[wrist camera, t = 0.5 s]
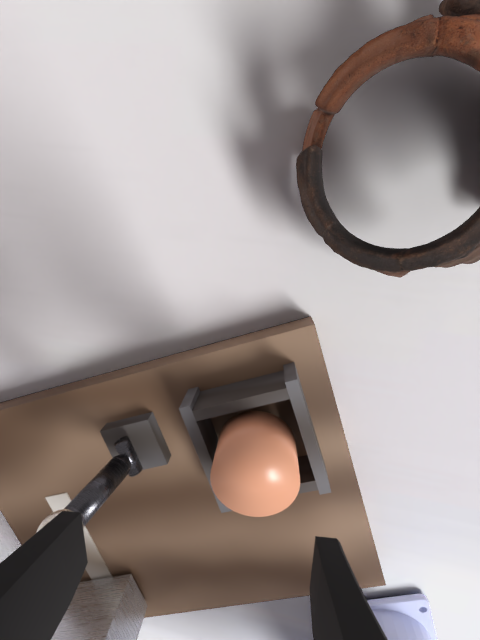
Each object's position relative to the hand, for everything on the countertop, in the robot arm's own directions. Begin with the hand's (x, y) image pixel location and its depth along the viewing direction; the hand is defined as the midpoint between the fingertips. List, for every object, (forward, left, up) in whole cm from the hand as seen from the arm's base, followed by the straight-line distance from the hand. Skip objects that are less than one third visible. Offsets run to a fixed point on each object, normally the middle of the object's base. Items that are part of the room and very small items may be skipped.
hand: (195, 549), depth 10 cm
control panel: (-6, +6, -10) cm, 13 cm away
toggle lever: (-1, +6, -7) cm, 9 cm away
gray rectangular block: (-12, +13, -8) cm, 19 cm away
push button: (-2, -1, -7) cm, 7 cm away
